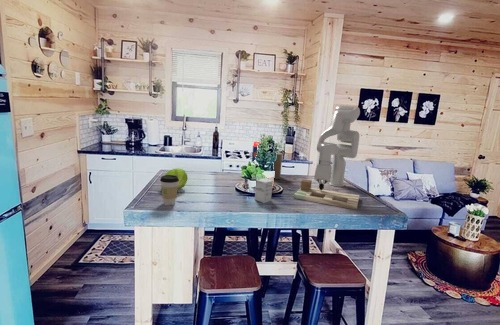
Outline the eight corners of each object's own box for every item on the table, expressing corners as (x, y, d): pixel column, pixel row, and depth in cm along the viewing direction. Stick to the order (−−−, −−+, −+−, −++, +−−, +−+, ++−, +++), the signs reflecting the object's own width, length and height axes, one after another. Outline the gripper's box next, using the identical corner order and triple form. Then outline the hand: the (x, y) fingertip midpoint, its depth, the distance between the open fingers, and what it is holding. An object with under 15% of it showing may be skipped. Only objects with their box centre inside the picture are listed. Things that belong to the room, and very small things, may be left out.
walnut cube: (302, 187, 207) (302, 179, 206) (310, 188, 206) (311, 180, 204) (300, 189, 202) (301, 181, 201) (309, 191, 200) (310, 182, 199)
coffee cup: (163, 199, 170) (163, 174, 167) (180, 201, 170) (181, 175, 167) (157, 205, 160) (157, 178, 158) (175, 207, 160) (176, 179, 157)
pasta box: (251, 176, 239) (254, 141, 234) (261, 177, 239) (264, 142, 234) (250, 185, 212) (253, 146, 206) (261, 186, 212) (264, 147, 206)
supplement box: (254, 200, 181) (255, 179, 179) (261, 197, 187) (263, 178, 184) (263, 203, 177) (265, 182, 174) (271, 200, 182) (273, 180, 180)
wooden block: (279, 179, 235) (281, 154, 232) (266, 178, 237) (268, 153, 233) (280, 176, 245) (282, 152, 241) (268, 175, 247) (270, 151, 243)
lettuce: (161, 194, 179) (162, 172, 177) (163, 185, 199) (163, 165, 196) (188, 194, 183) (188, 172, 181) (186, 185, 202) (187, 165, 200)
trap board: (302, 189, 213) (302, 185, 212) (358, 198, 199) (359, 195, 198) (293, 198, 191) (294, 194, 190) (356, 209, 177) (357, 205, 176)
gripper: (336, 163, 199) (333, 190, 202) (314, 160, 204) (311, 186, 208) (335, 165, 192) (331, 192, 195) (311, 162, 197) (308, 189, 201)
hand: (321, 189), depth 202 cm, fingers closed
